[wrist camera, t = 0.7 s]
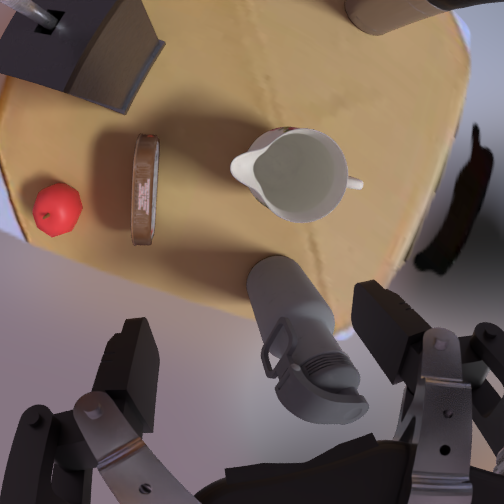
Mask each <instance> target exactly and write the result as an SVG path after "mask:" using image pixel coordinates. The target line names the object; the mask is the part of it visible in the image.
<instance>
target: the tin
mask: <svg viewBox="0 0 504 504" xmlns="http://www.w3.org/2000/svg"><path fill="white" fill-rule="evenodd" d="M159 151H160V141H159V138H158V136H157V135H144V134H139V136H138V139H137V142H136V147H135V152H134V160H133V174H132V197H131V236H132V242H133V245H134V246H135V245H151V244H152V238H153V236H154V231H155V217H156V199H157V184H158V168H159Z"/></svg>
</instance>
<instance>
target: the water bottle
mask: <svg viewBox="0 0 504 504" xmlns="http://www.w3.org/2000/svg"><path fill="white" fill-rule="evenodd" d="M246 286H247V292H248V295H249V299H250V302H251V305H252V308H253V311H254V315H255V318H256V321H257V324H258V327H259V330H260V334H261V337H262V340H263V343H264V345H263V347H262V351H261V359H262V363H263V366H264V370H265V373H266V376H267V377H268V378H273V379H274V378H276V377H277V376H278V378H279V382H278V384H277V385H276V387H275V391H276V394H277V396H278V399H279V400H280V402H281V403H282V404H283V405H284V407H286V409H287V410H289V411H290V412H291V413H292V414H294V415H295V416H297V417H299V418H300V419H302V420H304V421H308V422H311V423H316V424H342V425H343V424H348V423H352V422H354V421H356V420H358V419H359V418H361V417H362V416H363V415H364V414H365V413H366V412H367V411H368V409H369V404H368V403H367V401H366V400H365V398H364V396H362V395H359V393H358V391H357V388H358V386H359V383H360V374H359V372H358V370H357V369H356V368H355V367H354V365H353V363H352V362H351V360H350V358H349V356H348V355H347V354H346V353H345V352H343V351H342V349H341V348H340V346H339V345H338V343H337V341H336V340H335V338H334V337H333V332H334V327H335V320H334V315H333V313H332V310H331V309H330V307H329V306H328V304H327V303H326V302H325V300H324V299H323V297H322V296H321V295H320V293H319V292H318V291H317V289H316V288H315V286H314V285H313V284H312V282H311V281H310V280H309V278H308V277H307V275H306V274H305V273H304V271H303V270H302V269H301V267H300V266H299V265H298V263H296V262H295V261H294V260H292V259H290V258H288V257H284V256H272V257H268V258H265V259H264V260H262V261H260V262H259V263H257V264H256V265H255V266H254V267H253V268H252V270H251V271H250V273H249V275H248V278H247V284H246ZM269 352H270V353H271V354H272V355H274V356H275V357H277V358H279V359H280V360H279V362H278V363H277V365H276V367H275V368H274V369H273V370H272V367H271V364H270V361H269V357H268V353H269Z"/></svg>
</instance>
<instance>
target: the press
mask: <svg viewBox="0 0 504 504" xmlns="http://www.w3.org/2000/svg"><path fill="white" fill-rule="evenodd" d="M31 1H33V2H34V3H36V4H37V5H38V6H40V7H41V8H43V9H44V10H46V11H47V12H48V13H50V14H51V15H52V16H54V17H55V18H57V19H58V20H59V23H58V25H57V26H56V28H55V30H54V31H53V32H51V31H50V30H48V29H46V28H45V27H43V26H42V25H40V24H38V23H37V22H35V21H33V20H31V19H30V18H28V17H26V16H25V15H23V14H21V13H19V12H18V11H16V13H15V15H14V16H13V18H12V19H11V21H10V23H9V25H8V26H7V28H6V30H5V32H4V33H3V35H2V37H1V39H0V73H1V74H5V75H9V76H12V77H16V78H19V79H23V80H26V81H30V82H33V83H36V84H39V85H43V86H46V87H49V88H52V89H55V90H58V91H61V92H64V93H68V94H71V95H73V96H76V97H79V98H82V99H85V100H88V101H90V102H93V103H96V104H98V105H101V106H104V107H106V108H109V109H111V110H114V111H117V112H119V113H122V114H124V115H126V114H127V112H128V110H129V108H130V106H131V104H132V102H133V100H134V98H135V96H136V94H137V92H138V90H139V89H140V87H141V85H142V83H143V81H144V79H145V78H146V76H147V74H148V72H149V71H150V69H151V67H152V66H153V64H154V62H155V61H156V59H157V57H158V56H159V54H160V52H161V51H162V49H163V48H164V46H165V45H166V43H165V42H164V41H161V40H159V39H158V38H157V35H156V33H155V31H154V28H153V26H152V24H151V22H150V19H149V17H148V15H147V12H146V10H145V8H144V6H143V3H142V1H141V0H31Z"/></svg>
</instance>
